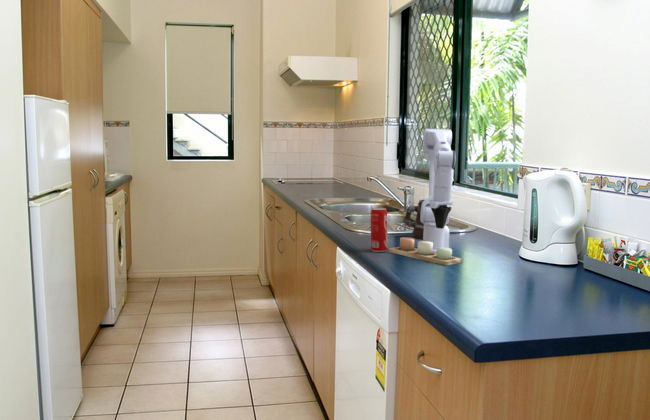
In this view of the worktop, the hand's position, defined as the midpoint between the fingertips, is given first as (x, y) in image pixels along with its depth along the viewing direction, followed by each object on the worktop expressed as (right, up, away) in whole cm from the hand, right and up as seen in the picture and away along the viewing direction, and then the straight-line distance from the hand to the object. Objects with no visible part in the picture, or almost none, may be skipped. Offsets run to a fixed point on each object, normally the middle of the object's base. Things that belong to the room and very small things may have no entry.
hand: (439, 228), depth 204 cm
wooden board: (-5, -10, +4) cm, 11 cm away
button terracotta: (-10, -7, +9) cm, 15 cm away
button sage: (+1, -10, -2) cm, 11 cm away
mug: (+1, -5, +43) cm, 44 cm away
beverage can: (-20, -9, +11) cm, 24 cm away
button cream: (-4, -8, +4) cm, 10 cm away
